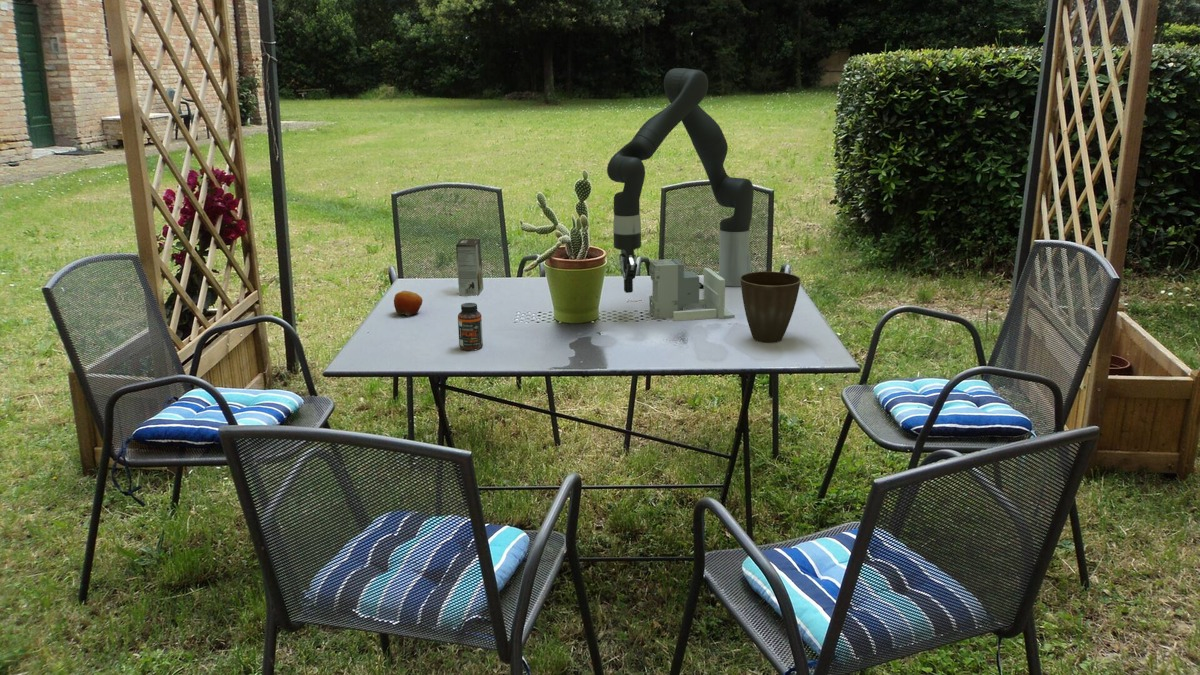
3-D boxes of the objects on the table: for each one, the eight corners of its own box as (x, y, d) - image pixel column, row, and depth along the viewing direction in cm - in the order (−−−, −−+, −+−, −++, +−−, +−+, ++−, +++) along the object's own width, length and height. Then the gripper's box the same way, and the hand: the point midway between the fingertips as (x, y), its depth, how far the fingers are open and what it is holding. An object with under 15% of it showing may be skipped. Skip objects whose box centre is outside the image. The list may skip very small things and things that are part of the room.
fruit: (385, 313, 261) (390, 286, 263) (398, 321, 268) (403, 294, 270) (411, 315, 259) (416, 288, 260) (423, 323, 266) (428, 296, 268)
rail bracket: (718, 304, 270) (718, 267, 267) (734, 317, 256) (735, 279, 252) (661, 307, 267) (662, 270, 264) (675, 322, 253) (675, 282, 250)
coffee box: (463, 288, 293) (460, 238, 288) (483, 288, 293) (481, 238, 288) (458, 296, 284) (455, 244, 279) (479, 295, 284) (476, 244, 279)
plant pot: (806, 335, 239) (810, 275, 234) (783, 351, 227) (786, 288, 222) (753, 327, 247) (755, 268, 242) (728, 341, 235) (730, 280, 230)
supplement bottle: (461, 352, 231) (458, 308, 227) (457, 345, 236) (455, 302, 233) (485, 349, 232) (482, 306, 229) (481, 342, 238) (478, 300, 235)
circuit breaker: (704, 315, 258) (705, 263, 254) (654, 318, 256) (654, 266, 252) (698, 308, 265) (698, 257, 261) (649, 311, 263) (649, 260, 259)
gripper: (646, 234, 246) (647, 297, 252) (635, 225, 259) (636, 285, 264) (618, 236, 245) (620, 299, 250) (608, 226, 257) (610, 287, 263)
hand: (628, 291), depth 257 cm, fingers closed
